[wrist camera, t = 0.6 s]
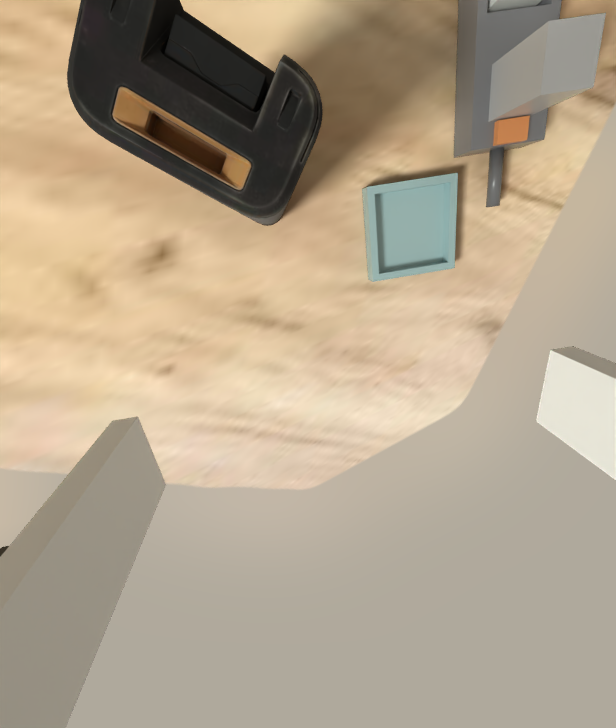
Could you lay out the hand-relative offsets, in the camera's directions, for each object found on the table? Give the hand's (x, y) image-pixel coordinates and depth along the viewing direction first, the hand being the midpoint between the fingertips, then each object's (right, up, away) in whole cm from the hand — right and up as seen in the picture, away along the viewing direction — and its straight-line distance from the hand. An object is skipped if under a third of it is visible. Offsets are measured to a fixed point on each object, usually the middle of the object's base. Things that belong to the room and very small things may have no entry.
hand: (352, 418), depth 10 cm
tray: (+9, +16, +24) cm, 30 cm away
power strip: (+16, +29, +19) cm, 38 cm away
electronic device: (-8, +20, +21) cm, 30 cm away
